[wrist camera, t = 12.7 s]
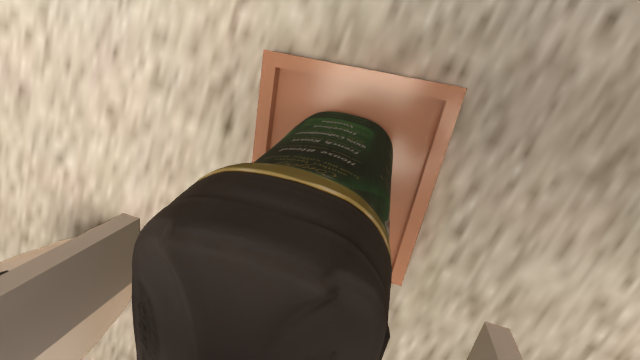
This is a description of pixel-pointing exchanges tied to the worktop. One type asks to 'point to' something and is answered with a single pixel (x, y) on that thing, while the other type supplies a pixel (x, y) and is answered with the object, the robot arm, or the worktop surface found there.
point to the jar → (82, 338)
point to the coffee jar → (274, 254)
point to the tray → (375, 105)
